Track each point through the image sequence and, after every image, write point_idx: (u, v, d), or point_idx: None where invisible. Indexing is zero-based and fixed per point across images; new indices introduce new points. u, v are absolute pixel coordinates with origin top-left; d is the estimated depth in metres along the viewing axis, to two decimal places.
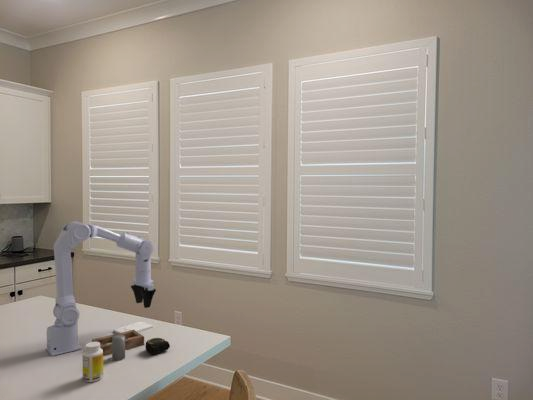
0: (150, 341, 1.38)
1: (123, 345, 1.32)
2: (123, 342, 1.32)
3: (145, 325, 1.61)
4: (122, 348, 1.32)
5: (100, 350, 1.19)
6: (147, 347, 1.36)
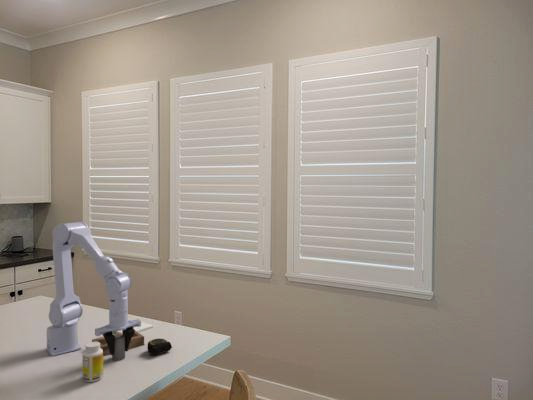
0: (152, 342, 1.38)
1: (123, 345, 1.32)
2: (123, 342, 1.32)
3: (145, 325, 1.61)
4: (122, 347, 1.32)
5: (100, 350, 1.19)
6: (149, 348, 1.35)
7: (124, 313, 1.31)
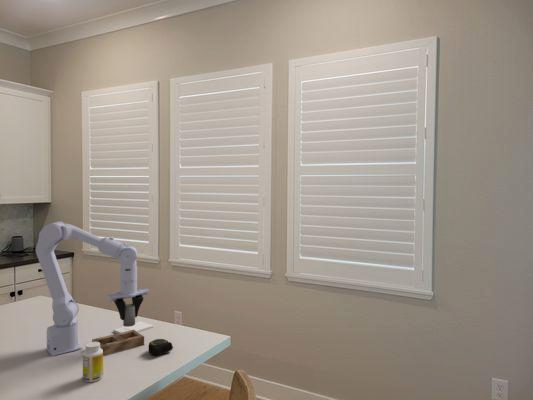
0: (153, 342, 1.37)
1: (133, 313, 1.43)
2: (133, 310, 1.43)
3: (145, 325, 1.61)
4: (132, 315, 1.43)
5: (100, 350, 1.19)
6: (150, 348, 1.35)
7: (134, 281, 1.42)
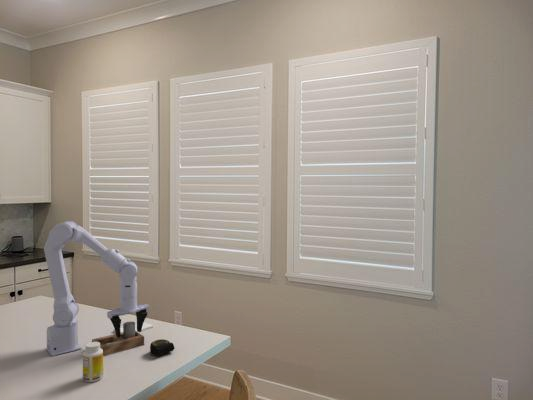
0: (155, 343, 1.37)
1: (133, 331, 1.43)
2: (133, 328, 1.43)
3: (145, 325, 1.61)
4: (132, 333, 1.43)
5: (100, 350, 1.19)
6: (152, 349, 1.34)
7: (134, 297, 1.43)
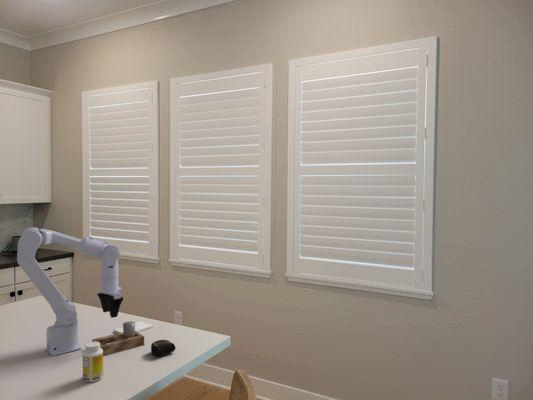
0: (155, 343, 1.37)
1: (132, 331, 1.43)
2: (132, 328, 1.43)
3: (145, 325, 1.61)
4: (131, 333, 1.43)
5: (100, 350, 1.19)
6: (152, 349, 1.34)
7: None
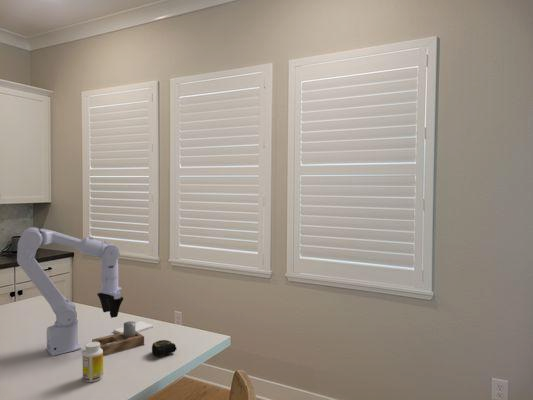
0: (156, 343, 1.36)
1: (133, 331, 1.43)
2: (133, 328, 1.43)
3: (145, 325, 1.61)
4: (132, 333, 1.43)
5: (100, 350, 1.19)
6: (153, 349, 1.34)
7: None
